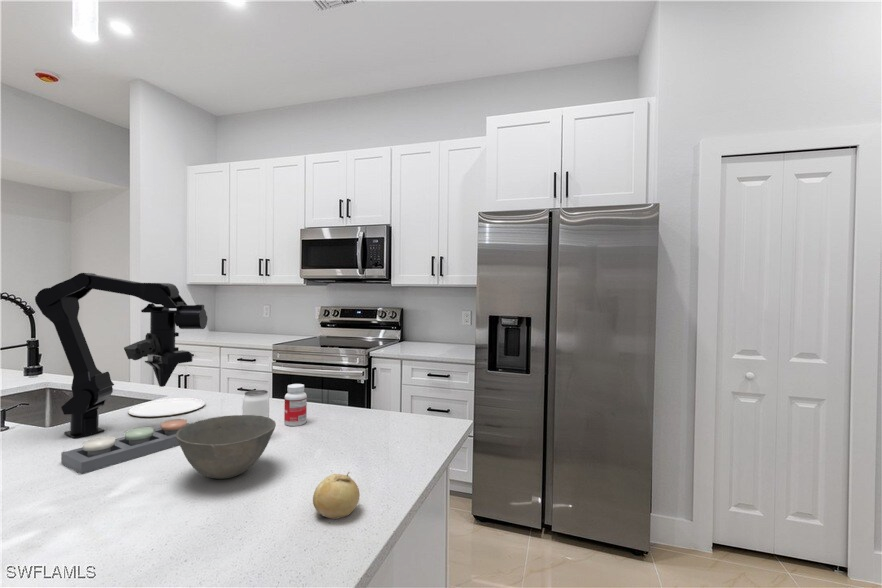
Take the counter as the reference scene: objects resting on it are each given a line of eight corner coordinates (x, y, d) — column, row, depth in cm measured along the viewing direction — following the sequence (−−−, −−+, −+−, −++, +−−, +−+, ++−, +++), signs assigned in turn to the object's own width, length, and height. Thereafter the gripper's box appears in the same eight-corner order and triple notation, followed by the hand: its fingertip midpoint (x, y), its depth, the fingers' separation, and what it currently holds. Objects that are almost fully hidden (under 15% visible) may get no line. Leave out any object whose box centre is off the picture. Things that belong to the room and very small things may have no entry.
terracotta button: (156, 439, 107) (156, 423, 107) (179, 433, 112) (179, 417, 112) (168, 444, 104) (168, 427, 104) (191, 437, 109) (191, 421, 109)
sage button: (120, 449, 100) (120, 432, 100) (146, 442, 105) (146, 425, 105) (131, 454, 97) (132, 436, 97) (157, 447, 102) (158, 429, 102)
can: (258, 443, 107) (259, 396, 107) (236, 441, 108) (237, 394, 108) (273, 434, 113) (274, 390, 113) (252, 432, 114) (253, 388, 114)
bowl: (170, 504, 76) (170, 449, 76) (179, 465, 93) (180, 420, 93) (280, 484, 85) (280, 434, 85) (270, 451, 102) (271, 410, 101)
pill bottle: (286, 420, 126) (287, 383, 126) (307, 419, 127) (308, 383, 127) (282, 427, 120) (282, 388, 120) (304, 426, 121) (305, 387, 120)
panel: (61, 463, 92) (61, 452, 92) (183, 430, 115) (183, 421, 115) (81, 474, 87) (81, 462, 87) (204, 437, 110) (204, 428, 110)
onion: (315, 529, 70) (316, 486, 69) (310, 506, 77) (310, 467, 77) (363, 519, 73) (364, 478, 73) (353, 498, 80) (354, 460, 80)
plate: (110, 417, 127) (110, 412, 127) (166, 399, 147) (166, 396, 147) (170, 422, 123) (170, 417, 123) (219, 403, 144) (219, 399, 144)
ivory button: (78, 461, 93) (78, 442, 93) (108, 453, 98) (108, 435, 98) (89, 466, 90) (89, 447, 90) (119, 458, 95) (119, 439, 95)
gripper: (111, 329, 112) (111, 387, 112) (148, 333, 103) (147, 397, 103) (157, 326, 122) (156, 380, 122) (194, 330, 113) (193, 388, 113)
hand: (162, 386), depth 115 cm, fingers closed
